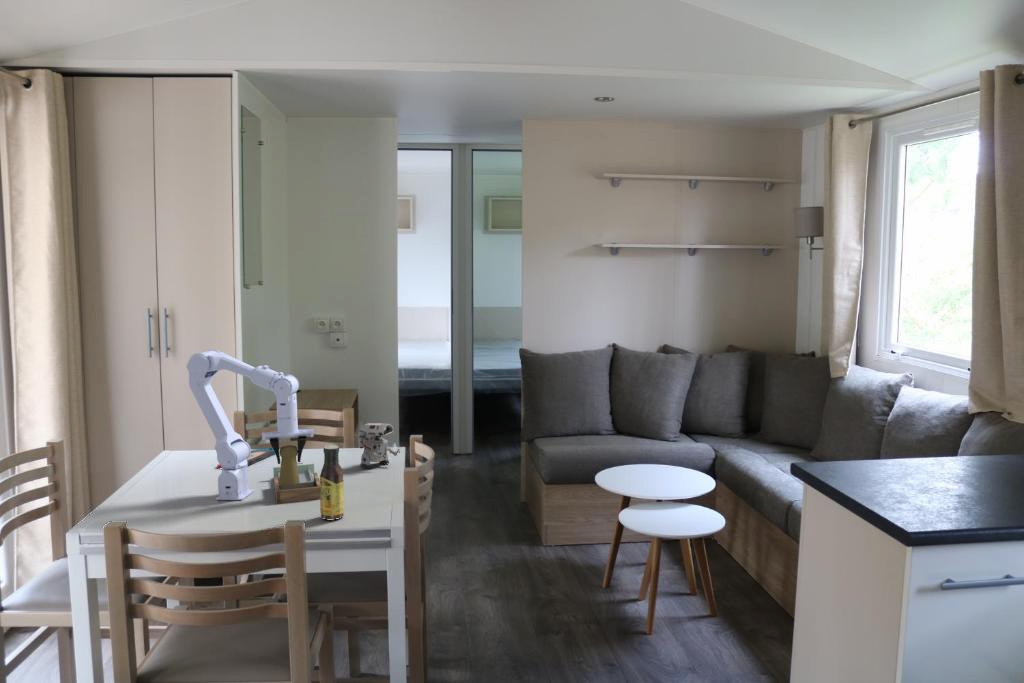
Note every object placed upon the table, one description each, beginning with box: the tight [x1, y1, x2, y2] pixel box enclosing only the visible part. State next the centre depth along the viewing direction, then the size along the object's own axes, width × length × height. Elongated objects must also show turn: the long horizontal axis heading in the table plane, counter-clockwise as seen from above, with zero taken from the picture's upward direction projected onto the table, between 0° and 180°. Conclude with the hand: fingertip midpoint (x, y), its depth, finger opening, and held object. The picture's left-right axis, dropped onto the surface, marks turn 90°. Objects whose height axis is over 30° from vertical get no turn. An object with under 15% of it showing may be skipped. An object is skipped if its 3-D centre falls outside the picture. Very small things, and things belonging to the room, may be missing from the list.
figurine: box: [359, 422, 401, 470], centre depth 265 cm, size 9×12×15 cm
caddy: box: [273, 472, 320, 504], centre depth 237 cm, size 17×13×4 cm
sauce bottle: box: [319, 444, 345, 519], centre depth 213 cm, size 6×6×20 cm
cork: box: [278, 444, 300, 485], centre depth 232 cm, size 6×6×11 cm
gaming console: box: [216, 447, 276, 469], centre depth 276 cm, size 24×2×10 cm
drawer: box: [272, 462, 315, 490], centre depth 247 cm, size 19×13×3 cm, turn 19°
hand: (289, 462), depth 233 cm, fingers closed on cork, 5 cm apart
